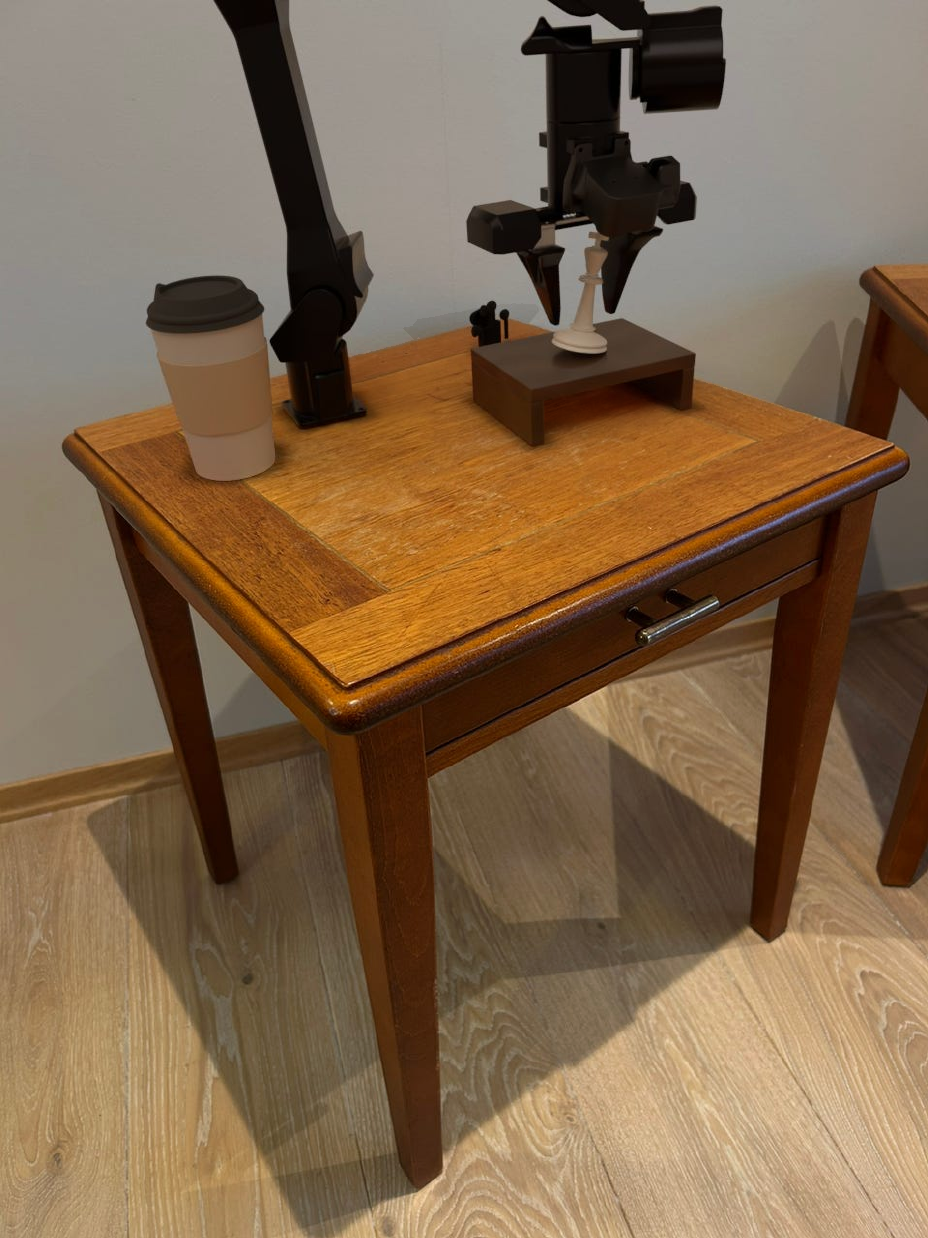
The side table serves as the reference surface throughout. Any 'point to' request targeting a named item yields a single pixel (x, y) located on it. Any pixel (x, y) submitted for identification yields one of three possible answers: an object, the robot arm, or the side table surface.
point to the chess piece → (586, 306)
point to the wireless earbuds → (488, 324)
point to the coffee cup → (216, 372)
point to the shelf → (575, 373)
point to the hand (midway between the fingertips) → (582, 318)
